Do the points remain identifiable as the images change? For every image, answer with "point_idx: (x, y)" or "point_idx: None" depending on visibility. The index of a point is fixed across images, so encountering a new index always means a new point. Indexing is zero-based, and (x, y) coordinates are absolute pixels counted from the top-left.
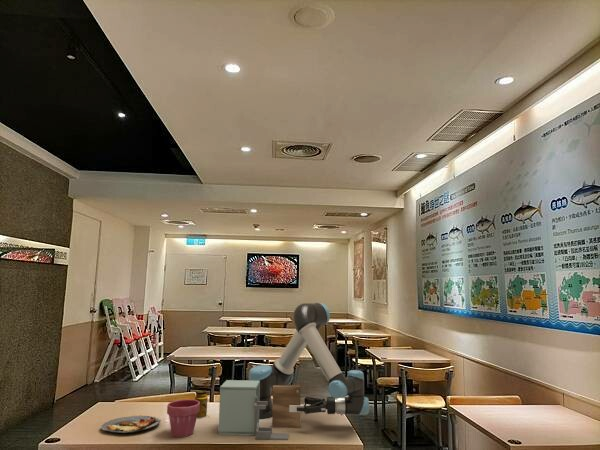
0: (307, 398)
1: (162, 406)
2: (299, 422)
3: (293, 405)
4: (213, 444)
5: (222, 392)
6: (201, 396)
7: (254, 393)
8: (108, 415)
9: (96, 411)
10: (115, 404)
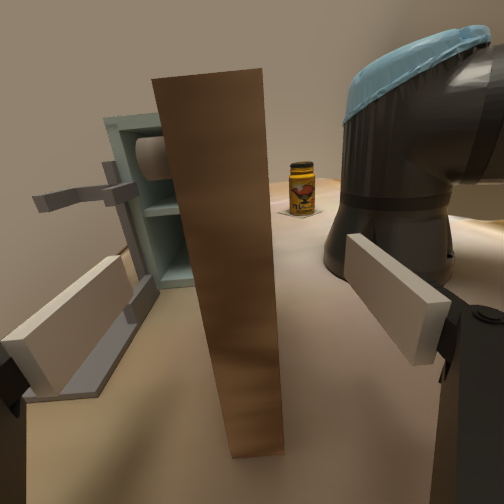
0: (484, 340)
1: (333, 190)
2: (227, 428)
3: (97, 270)
4: (119, 252)
5: None
6: (291, 172)
7: (114, 147)
8: (274, 186)
9: (286, 182)
10: (318, 180)
